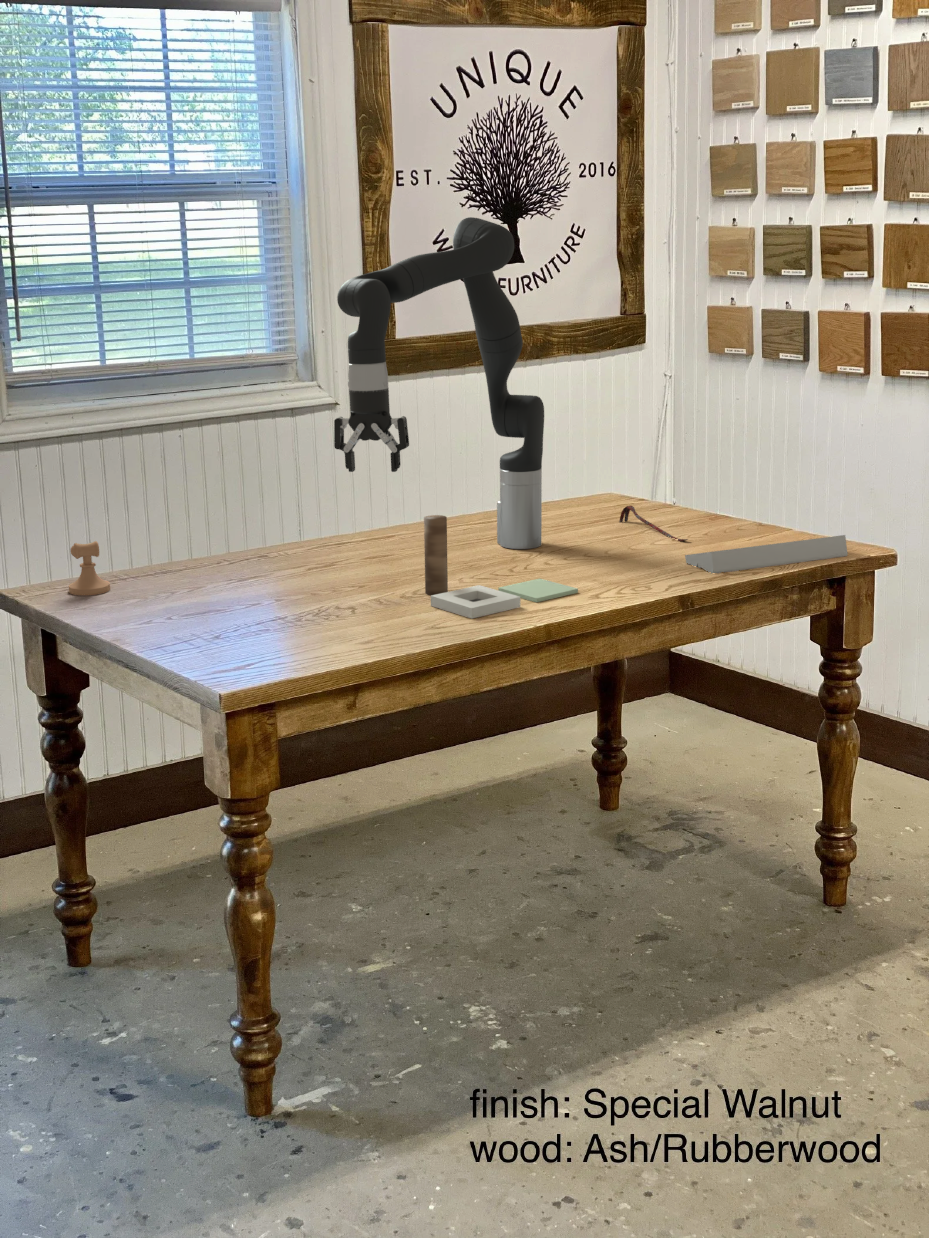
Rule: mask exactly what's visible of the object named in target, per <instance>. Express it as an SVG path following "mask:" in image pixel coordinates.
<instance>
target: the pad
mask: <svg viewBox="0 0 929 1238" xmlns="http://www.w3.org/2000/svg"><path fill="white" fill-rule="evenodd" d="M497 590H498V591H502V592H505V593H509V594H512V595H516V596H519V597H520V599H523V600H527V601H530V602H533V603H539V602H544V601H549V600H552V599H556V598H561V597H565V596H569V595H574V594H578V593H579V588H577V587H573V586H569V585H567V584H562V583H559V582H555V581H551V580H549V579H547V580H546V579H543V578H540V577H539V578H536V579H531V580H527V581H522V582H518V583H513V584H509V585H504V586H499V587H498V589H497Z"/></svg>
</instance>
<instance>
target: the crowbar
mask: <svg viewBox="0 0 929 1238" xmlns="http://www.w3.org/2000/svg"><path fill="white" fill-rule="evenodd" d="M630 512H632V513H633V515H634V516H635V517H636V518H637V519H638V520H639V521H640V522H642V523H644V524H645V525H647V526H649V527H650V528H652V529H654V530H655V531H657V532H659V533H661V534H662V535H664V536H666V537H668V536H669V537H668V538H670V537H671V538H670V539H672V538H675V539H678V541H677V542H685V541H688V540H689V538H678V537H675V536H673V535H671V534H670V533H668V532H667V531H665V530H663V529H662V528H660V527H659V526H657V525H655V524H653V523H652V522H650V521H648V520H646V519H645V518H643V517H642V516H640V515H639V514H638V513H637V511H636V509H635V506H633V505H626V506H625V507H623V508H622V511H621V512H620V516H619V521H618V522H619V523H623V522H624V521H625V522H624V523H626V521H627V522H628V520H629V517H630V516H629V515H630ZM675 539H674V540H675Z"/></svg>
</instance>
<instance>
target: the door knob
mask: <svg viewBox="0 0 929 1238" xmlns="http://www.w3.org/2000/svg"><path fill="white" fill-rule="evenodd" d="M70 554H71V556H72V557H74V558H75V559H77V560H79V559H81V558H82V563H80V564H79V567H80V568H81V570H80V571H81V572H80V575H79V577H78V578H77V580H75V581H74V582H72V583H70V584H69V585H68V593H69V594H72V595H75V596H94V595H101V594H105V593H107V592H109V591H111V582H110V581H108V580H105V579H102V578H101V577H100V576H99V575H98V574H97V572H96V570H95V567H96V566H97V563H96V562H92V561H93V560H92V557H96V558H99V557H100V546H99V542H98V541H96V540H95V541H93V542H90V543H77V542H75V543H74V544H73V545H72V546H71V547H70Z"/></svg>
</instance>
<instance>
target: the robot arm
mask: <svg viewBox="0 0 929 1238" xmlns="http://www.w3.org/2000/svg"><path fill="white" fill-rule="evenodd" d="M514 251H515V239H514V236H513V234H512V232H510V229H508V228H507V227H505V226H503V225H501V224H499V223H495V222H491V221H490V220H487V219H482V218H479V217H465V218H463V219H462V220H460V221H459V222H458V224H457V225H456V227H455V230H454V232H453V238H452V249H449V250H443V251H437V252H436V251H435V252H429V253H421V254H417V255H414V256H411V257H408V258H406V259H403V260H400V261H398V262H395V263H394V264H391V265H389V266H388V267H386V268H383V269H379V270H375V271H371V272H367V273H364V274H361V275H358V276H357V275H356V276H355V277H351V278H349V279H348V280H346V281H345V282H344V283H343V284H342V285H341V286H340V288H339V289H338V293H337V297H336V298H337V300H336V301H337V305H338V306H339V308H340V310H341V311H342V312H343V313H344V314H346V315H348V316H350V317H352V318H353V317H354V318H355V317H356V318H359V319H358V325H357V326H358V327H357V330H355V331H353V332H350V333H349V335H348V337H347V355H348V356H347V357H348V371H347V374H348V375H347V380H348V381H347V386H348V399H349V412H350V415H349V418H348V417H347V418H346V417H343V416H339V417H336V418H335V419H334V423H333V424H334V425H333V426H334V427H333V429H334V430H333V431H334V432H333V434H334V440H333V441H334V443H333V444H334V449H336V450H339V451H342V452H343V453H344V462H345V463H344V464H345V468H346V470H348V472H349V473H353V472H355V471H356V461H355V460H356V459H355V458H356V457H355V456H356V455H355V451H354V448H355V447H356V445H357V443H358V442H359V441H360V440H361V441H363V442H364V441H370V440H371V441H374V442H375V441H380V440H381V441H382V443H383V444H384V445H386V446H387V447H388V449H389V450H390V451H391V452H390V469H391V470H390V471H391V472H392V473H396V472H397V471H399V469H400V467H401V451H403V450H405V449H407V448H408V447H409V446H410V440H409V438H410V437H409V429H408V420H407V419H408V418H407V417H406V416H404V415H403V416H401V417H392V416H391V413H390V394H389V392H390V391H389V375H388V369H387V358H386V356H387V355H386V342H385V340H386V334H387V331H388V327H389V319H390V315H391V307H392V304H394V303H395V304H396V303H397V304H398V303H401V302H405V301H407V300H409V299H412V298H415V297H417V296H418V295H421V294H423V293H425V292H427V291H430V290H432V289H435V288H438V287H440V286H443V285H447V284H450V283H452V282H457V281H459V280H462V281H463V283H464V286H465V290H466V294H467V298H468V302H469V306H470V310H471V314H472V319H473V324H474V330H475V335H476V339H477V343H478V344H477V346H478V349H479V352H480V356H481V357H480V358H481V360H482V365H483V370H484V373H485V378H486V379H485V380H486V385H487V394H488V401H489V409H490V415H491V423H492V425H493V429H494V432H495V434H497V435H498V436H500V437H503V438H505V437H506V438H518V439H521V438H522V439H523V444H522V446H521V447H520V448H518V449H515V450H514V451H509V452H507V453H504V454H502V455H501V456H500V458H499V500H498V501H496V502H497V503H496V521H497V522H496V529H497V530H496V535H497V536H496V538H497V539H496V541H497V544H498V545H500V546H501V547H502V548H506V549H513V550H529V549H536V548H539V547H541V546H542V525H543V524H542V522H543V521H542V519H543V518H542V517H543V515H542V514H543V513H542V511H543V509H542V506H543V505H542V503H543V501H542V499H543V498H542V497H543V494H542V491H543V489H542V487H543V486H542V481H543V480H542V479H543V478H542V474H543V473H542V465H543V464H542V463H543V454H544V453H543V452H544V430H545V429H544V428H545V406H544V402H543V400H542V398H541V397H540V396H538V395H533V394H532V395H528V394H510V392H509V390H508V380H509V377H510V374H511V373H512V370H513V368H514V367H515V365H516V363H517V361H518V360H519V357H520V355H521V353H522V349H523V342H524V341H523V336H522V330H521V325H520V320H519V317H518V314H517V312H516V309H515V308H514V306H513V305H512V302H511V301H510V299H509V298H508V297H507V295H506V294H505V292H504V290H503V289H502V288H501V286H500V284H499V281H498V280H497V279H496V276H495V274H494V272H496V271H498V270H501V269H503V268H504V267H505V266H506V265H508V263H509V262H510V260H511V258H512V257H513V254H514ZM348 425H349V427H350V428H351V430H352V431H353V433H352V435H351V436H350V437H349V438H348V441H347V442H345V429H347V427H348ZM392 425H394V428H395V429H396V430H397V431H398V438H399V440H398V441H397V440H396V439H395V436H394V435H393V434H392V433H391V431H390V428H391V427H392ZM398 442H399V443H398Z"/></svg>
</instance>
